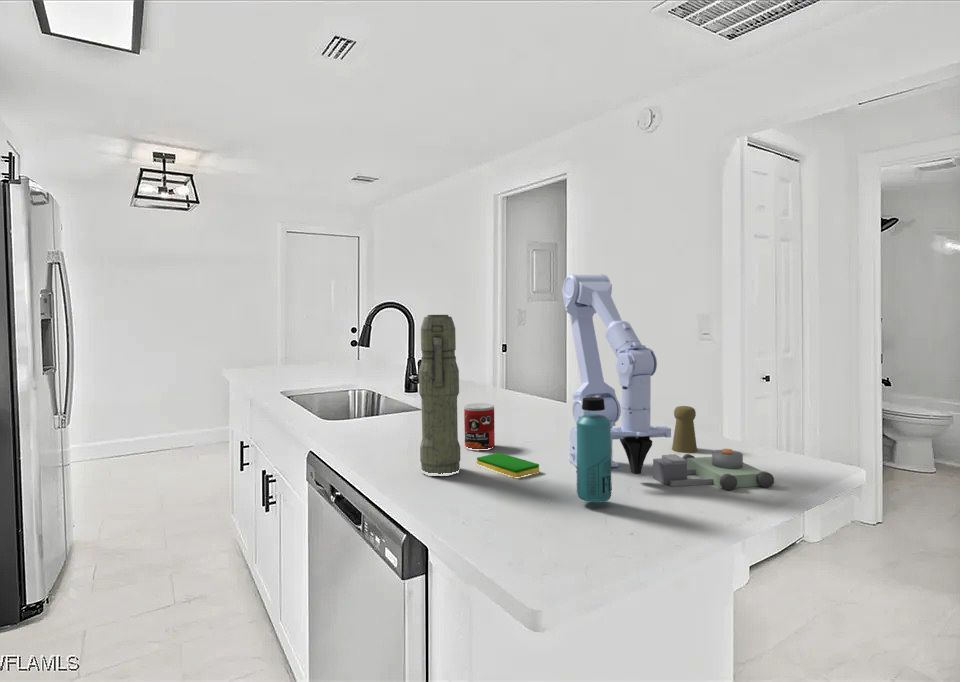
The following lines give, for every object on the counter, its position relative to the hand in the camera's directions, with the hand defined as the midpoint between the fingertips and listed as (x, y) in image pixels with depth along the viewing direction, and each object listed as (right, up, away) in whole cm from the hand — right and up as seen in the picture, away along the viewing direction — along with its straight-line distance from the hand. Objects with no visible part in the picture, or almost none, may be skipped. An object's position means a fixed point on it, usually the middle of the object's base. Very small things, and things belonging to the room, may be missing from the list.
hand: (635, 472), depth 123 cm
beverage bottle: (-11, -3, -13) cm, 17 cm away
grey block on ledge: (+7, -2, +1) cm, 8 cm away
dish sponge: (-26, -2, +11) cm, 28 cm away
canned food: (-32, -1, +31) cm, 45 cm away
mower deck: (+16, -2, +3) cm, 16 cm away
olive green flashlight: (-41, -2, +10) cm, 42 cm away
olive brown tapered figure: (+19, 0, +26) cm, 33 cm away
